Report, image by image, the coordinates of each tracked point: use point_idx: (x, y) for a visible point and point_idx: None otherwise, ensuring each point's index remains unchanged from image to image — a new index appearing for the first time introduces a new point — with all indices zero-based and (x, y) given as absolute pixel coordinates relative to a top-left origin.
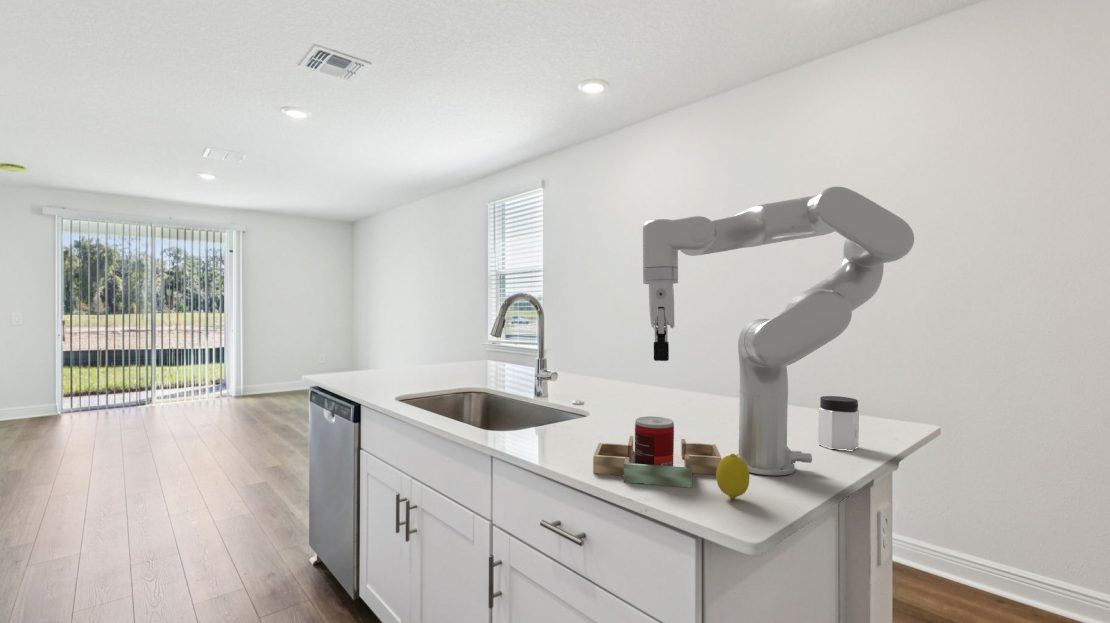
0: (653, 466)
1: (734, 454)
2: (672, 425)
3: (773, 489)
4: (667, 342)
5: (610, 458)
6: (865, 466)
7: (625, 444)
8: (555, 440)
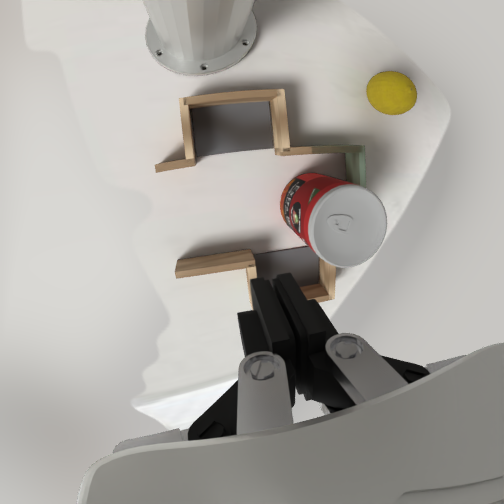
0: None
1: (411, 87)
2: (363, 187)
3: (316, 34)
4: (346, 333)
5: (334, 274)
6: None
7: (250, 272)
8: (177, 376)
